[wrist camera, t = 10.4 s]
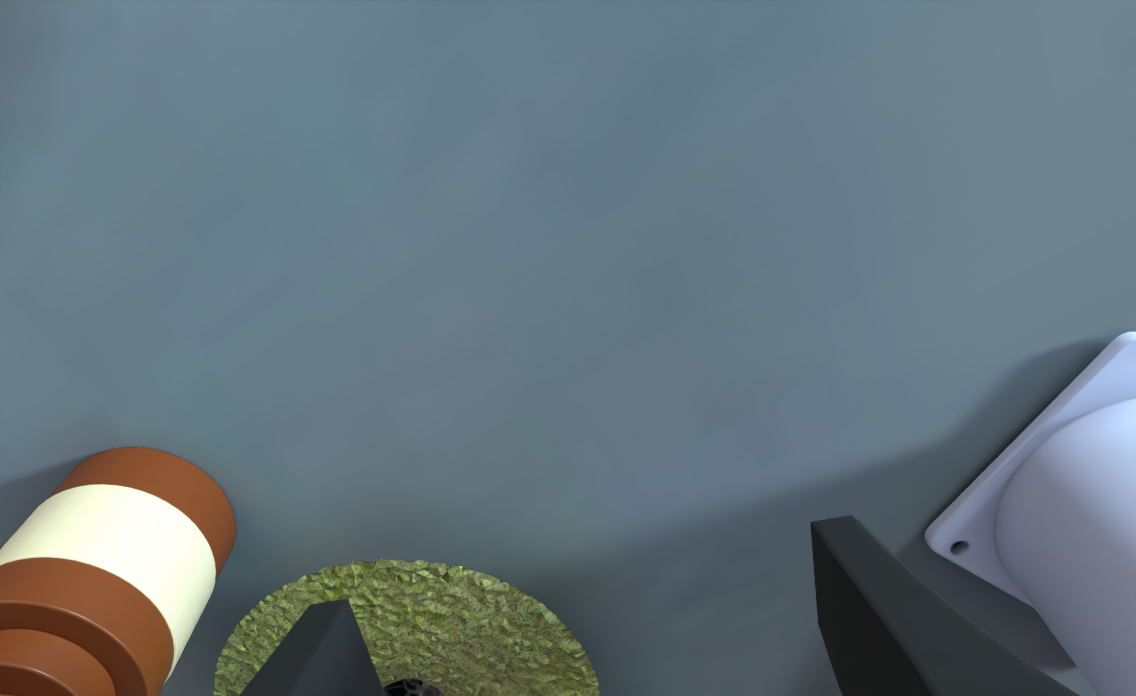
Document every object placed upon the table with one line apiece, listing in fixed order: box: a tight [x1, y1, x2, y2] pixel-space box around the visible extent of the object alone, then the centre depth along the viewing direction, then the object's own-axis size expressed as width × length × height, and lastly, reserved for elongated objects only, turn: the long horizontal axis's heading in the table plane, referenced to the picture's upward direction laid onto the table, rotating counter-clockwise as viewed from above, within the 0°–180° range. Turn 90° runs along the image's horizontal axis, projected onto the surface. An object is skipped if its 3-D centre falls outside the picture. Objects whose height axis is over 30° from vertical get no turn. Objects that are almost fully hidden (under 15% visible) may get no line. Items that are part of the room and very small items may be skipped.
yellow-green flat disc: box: [214, 559, 600, 696], centre depth 26 cm, size 11×11×2 cm
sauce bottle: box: [0, 447, 236, 696], centre depth 20 cm, size 5×5×9 cm
